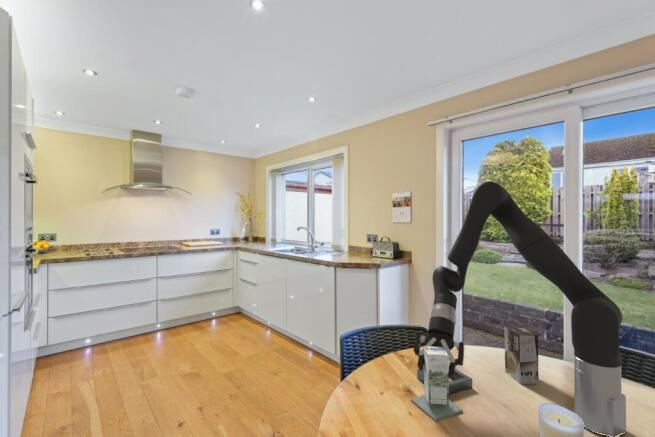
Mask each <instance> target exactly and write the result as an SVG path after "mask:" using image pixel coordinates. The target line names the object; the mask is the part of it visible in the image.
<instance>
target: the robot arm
mask: <svg viewBox="0 0 655 437" xmlns="http://www.w3.org/2000/svg"><path fill="white" fill-rule="evenodd" d="M469 203H470V204H469V207H468V211H467V212H466V216H465V219H464V221H463V224H462V227H461V229H460V231H459V233H458V236H456V239H455V242H454V243H453V245H452V247H451V249H450V251H449V253H448V256H447V259H448V261H449V262H450V263H451V264H453V265H455V266H456V268H457V269H456V271H455V270H453V269H451V268H449V267H447V266H443V265H439V266H437V267H436V268H435V269H434V271H433V273H432V285H433V293H434V299H433V303H432V304H433V305H432V308H431V312H430V317H429V321H428V322H429V323H428V328H427V329H428V330H427V334H426V335H421V334H420V333H416V334H415V335H416V336H415V341H414V346H413V352H414V354H415V356H417V357H418V358H417V359H418V360H417V364H416V365H417V368H418V369H419V370H420V371H422V372H423V368H424V347H423V348H422V349H421V345H422V344H423V343H424V342H426V344H425V345H424V346H428V347H443V348H444V349H445V351H446V352H447V354H448V356H449V372H448V377H449V380H453V379H452V377H454V376H455V369H456V367H457V366H460V367H461V366H464V357H465V344H464V342H462V341H459V342H455V341H454V338H455V337H454V336H455V328H456V325H457V324H456V323H457V321H456V319H457V316H456V315H457V314H456V312H457V304H458V303H457V302H458V297H457V295H456V294H455V293H458V292H461V291H462V290H463V288H464V286H465V283H466V278H467V277H466V276H467V272H468V268H469V265H470V262H471V260H472V258H473V257H474V256H475V255H474V254H475V253H476V250H477V249H478V246H479V244H480V239H481V236H482V232H483V229H484V227H485V224H486V222H487V220H488V218H489V217H490V215H491V216H492V217H493V218H494V219H495V220H496V221H497V222H498V223H500V225H501V226H502V227H503V229H504V230H505V232H506V233H507V236H508V237H509V239H510V241H511V243H512V244H513V246H514V248H515V249H516V250H517V251H518V253H519V254H520V255H521V256H522V258H523V259H524V260H525V261H526V262H527V263H528V264H529V265H530V267H532V269H534V270H535V271H536V272H537V273H538V274H540V275H541V276H543V277H544V278H545V279H546V280H548V281H549V282H551V283H552V284H553V285H555V287H557V288H558V289H559V290H560V291H561V292H562V294H563V295H564V296H565V297H566V298H567V300H568V301H569V303H570V304H571V306H572V310H571V312H570V313H571V315H570V324H571V326H570V327H571V328H570V329H571V344H572V347H573V370H574V372H573V375H574V376H573V380H574V382H573V383H574V384H573V387H574V389H573V390H574V398H573V400H574V409H573V411H574V414H575V413H576V414H577V415H578V416H579V417H581V418H582V420H583V422H584V425H585V428H584V429H586V430H587V429H589V430H593V431H595V432H598V433H602V434H606V435H610V436H613V437H615V436H617V435H619V434H621V433H624V432H625V431H626V432H627V403H626V402H627V397H626V395H625V393H622V392H623V391H622V390H623V389H622V388H623V387H622V386H623V384H622V354H621V351H620V326H621V324H622V322H623V313H622V311H621V309H620V307H619V306H618V305H617V304H616V303H615V302H614V301H613V300H612V299H611V298H609V297H608V295H606V294H605V293H604V292H603V291H602V290H600V289H599V288H598V287H597V286H596V285H595V284H594V283H593V282H591V281H590V279H589V278H587V276H585V275H584V274H583V272H581V270H580V268H578V267H577V265H576V264H575V263H574V262H573V261H572V259H571V258H570V257H569V256H568V255H567V253H566V252H565V251H564V250H563V249H562V248H561V247H560V246H559V244H558V243H557V242H555V240H554V239H553V238H552V237H551V236H550V235H549V234H548V233H547V232H546V231H545V230H544V229H543V228H541V227H540V225H538V223H537V222H535V221H533V220H532V219H531V218H530V217H529V216H527V214H525V212H524V211H522V209H521V208H520V206H518V204H517V203H516V202H515V200H514V199H513V197H511V195H510V193H509V192H508V190H507V189H506V188H505V187H504V186H502V185H501V184H499V183H497V182H495V181H491V180H490V181H484V182H481V183H480V184H478V185H477V186H476V188H475V189H474V191H473V194H472V197H471V201H470V202H469ZM454 348H456V351H457V358H455V357H454V356H453V353H452V352H451V350H453V349H454ZM589 430H588V431H589Z"/></svg>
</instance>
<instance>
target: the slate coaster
mask: <svg viewBox="0 0 655 437" xmlns="http://www.w3.org/2000/svg"><path fill="white" fill-rule="evenodd" d="M410 402H412V404H414V405H415V406H417V408H419V409H420V410H421V411H422V412H423V413H425V414H426V415H427V416H429V417H430V419H432V420H433V421H435V422H437V421H441V420H444V419H446V418H449V417H452V416H454V415H457V414H458V415H459V414H461V413H463V412H464V409H462V408H461V407H460V406H458V405H457V404H456V403H454V402H453V401H451V400H450V399H449V405H432V404H428V401H427V399H426V396H425V394H422V395H419V396H417V397H416V396H415V397H413V398H410Z"/></svg>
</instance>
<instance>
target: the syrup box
mask: <svg viewBox="0 0 655 437" xmlns="http://www.w3.org/2000/svg"><path fill="white" fill-rule="evenodd" d="M423 348H424V367H423V368H424V383H423V393H424V394H423V395H425V396H426V399H427V401H428V404H432V405H449V400H450V398H449V396H450V395H449V382H450V379H449V377H448V372H449V363H450V360H449V356H448V354H447V352H446V351H445V349H444V348H443V347H428V346H425V345H424V346H423Z"/></svg>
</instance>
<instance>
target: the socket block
mask: <svg viewBox="0 0 655 437" xmlns="http://www.w3.org/2000/svg"><path fill="white" fill-rule="evenodd" d="M416 371H417V372H416V373H417V374H416V376H417V377H416V378H417V379H418V380H419V381H420V382H422V383H423V384H424V367H423V372H422V371H420V370H419V368H418V369H417V370H416ZM451 380H452V381H449V396H452V395H454V394H457V393H462V392H463V391H468V390H470V389H473V378H472V377H471V376H468V375H466V374H464V373H463V372H461V371H460V370H458V369H456V368H455V376H454V377H452V379H451Z"/></svg>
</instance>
